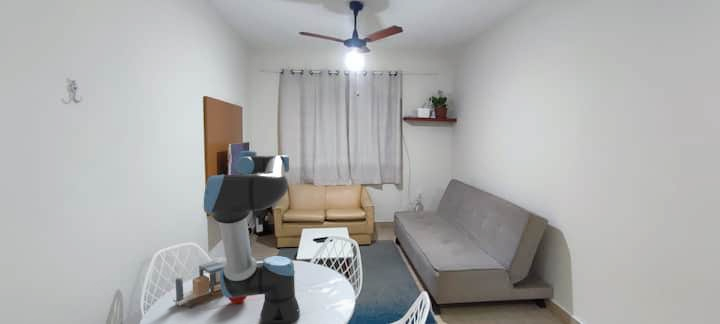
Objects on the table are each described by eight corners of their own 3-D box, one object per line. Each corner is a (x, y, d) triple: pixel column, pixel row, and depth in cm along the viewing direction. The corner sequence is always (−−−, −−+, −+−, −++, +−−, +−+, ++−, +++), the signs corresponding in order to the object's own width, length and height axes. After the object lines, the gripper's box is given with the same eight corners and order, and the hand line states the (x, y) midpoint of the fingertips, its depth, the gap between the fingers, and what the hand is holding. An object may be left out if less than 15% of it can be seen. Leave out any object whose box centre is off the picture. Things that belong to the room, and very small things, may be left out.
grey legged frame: (238, 288, 150) (237, 262, 149) (189, 308, 132) (188, 279, 131) (225, 282, 156) (224, 257, 155) (178, 300, 139) (176, 272, 138)
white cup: (210, 277, 162) (209, 258, 161) (227, 274, 165) (226, 256, 165) (210, 283, 155) (209, 263, 154) (227, 280, 158) (226, 261, 158)
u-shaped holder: (212, 292, 142) (211, 270, 141) (179, 305, 131) (178, 282, 130) (205, 288, 146) (204, 267, 145) (173, 300, 135) (171, 278, 134)
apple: (225, 310, 131) (224, 281, 130) (225, 299, 140) (224, 272, 139) (250, 305, 134) (249, 277, 133) (249, 294, 143) (248, 268, 143)
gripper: (272, 185, 142) (274, 231, 143) (240, 181, 157) (242, 223, 158) (258, 187, 136) (260, 235, 137) (226, 183, 151) (228, 226, 152)
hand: (250, 229), depth 148 cm, fingers open, 13 cm apart
